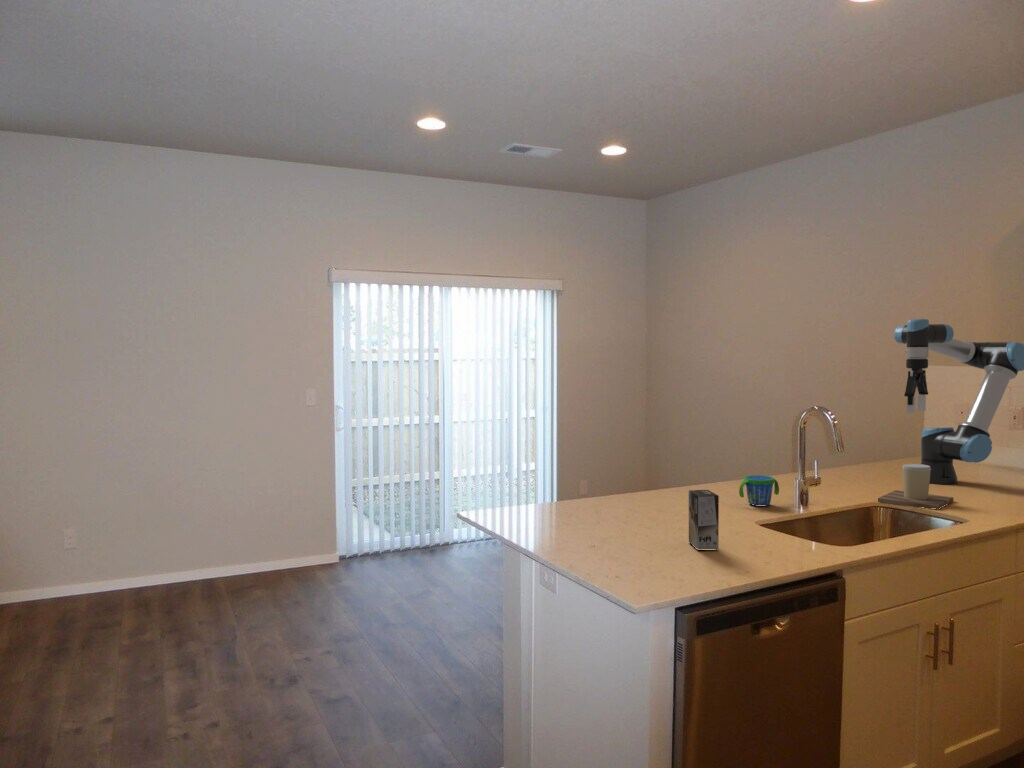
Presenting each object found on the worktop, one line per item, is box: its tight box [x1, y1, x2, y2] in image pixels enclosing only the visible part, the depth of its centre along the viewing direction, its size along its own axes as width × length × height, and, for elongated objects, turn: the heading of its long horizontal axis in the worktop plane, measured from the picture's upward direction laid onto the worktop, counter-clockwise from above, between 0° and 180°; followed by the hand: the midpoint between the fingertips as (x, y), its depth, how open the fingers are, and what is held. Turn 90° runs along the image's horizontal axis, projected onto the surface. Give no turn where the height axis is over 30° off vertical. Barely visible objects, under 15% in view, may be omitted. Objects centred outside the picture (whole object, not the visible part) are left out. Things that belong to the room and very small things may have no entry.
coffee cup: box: [901, 463, 931, 500], centre depth 271 cm, size 9×9×12 cm
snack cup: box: [738, 474, 780, 506], centre depth 268 cm, size 16×10×10 cm
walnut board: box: [877, 489, 955, 510], centre depth 271 cm, size 20×20×2 cm
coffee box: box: [688, 489, 720, 550], centre depth 213 cm, size 9×6×16 cm
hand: (916, 412), depth 288 cm, fingers open, 13 cm apart
